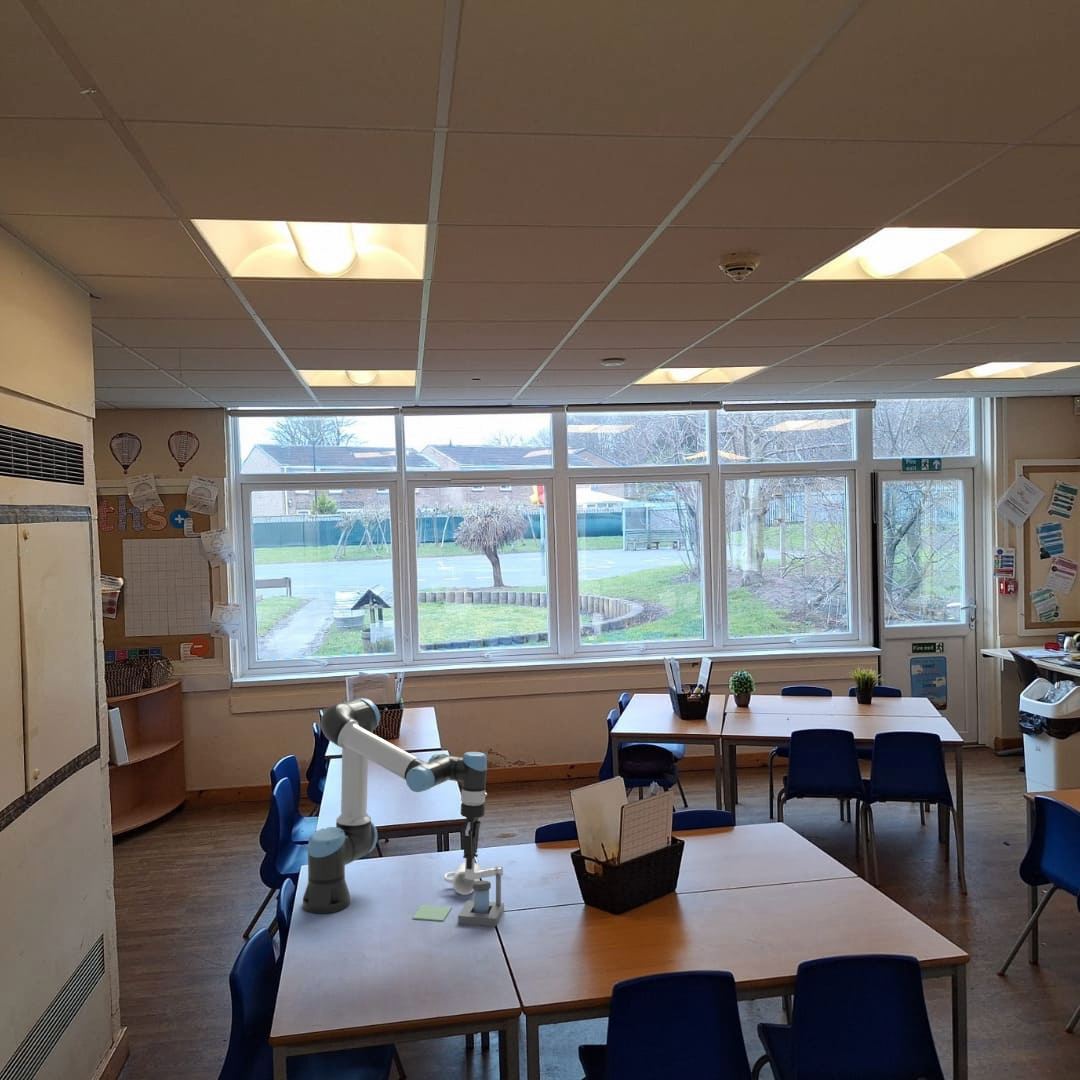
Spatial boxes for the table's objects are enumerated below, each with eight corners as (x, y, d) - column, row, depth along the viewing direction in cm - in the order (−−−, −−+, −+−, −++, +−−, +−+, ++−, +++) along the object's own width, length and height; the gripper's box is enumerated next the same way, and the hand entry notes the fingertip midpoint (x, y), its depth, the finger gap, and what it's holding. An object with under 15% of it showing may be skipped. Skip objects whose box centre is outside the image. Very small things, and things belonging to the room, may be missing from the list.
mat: (412, 918, 286) (412, 917, 286) (421, 906, 295) (421, 904, 295) (443, 921, 284) (443, 919, 284) (451, 908, 294) (451, 907, 294)
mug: (480, 884, 314) (480, 861, 314) (476, 895, 304) (476, 872, 304) (446, 882, 315) (446, 860, 315) (440, 894, 305) (440, 870, 305)
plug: (470, 920, 285) (470, 886, 285) (474, 912, 290) (474, 880, 290) (488, 921, 284) (488, 888, 284) (492, 914, 289) (492, 881, 289)
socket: (458, 923, 282) (458, 885, 282) (467, 908, 294) (467, 871, 294) (496, 926, 280) (496, 887, 280) (503, 910, 292) (504, 873, 292)
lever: (500, 872, 293) (500, 865, 293) (504, 875, 290) (504, 868, 290) (467, 877, 288) (467, 871, 288) (471, 880, 285) (471, 874, 285)
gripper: (479, 808, 279) (475, 886, 278) (489, 799, 292) (485, 873, 291) (456, 806, 281) (452, 883, 280) (466, 796, 293) (463, 871, 292)
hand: (469, 878), depth 285 cm, fingers closed
